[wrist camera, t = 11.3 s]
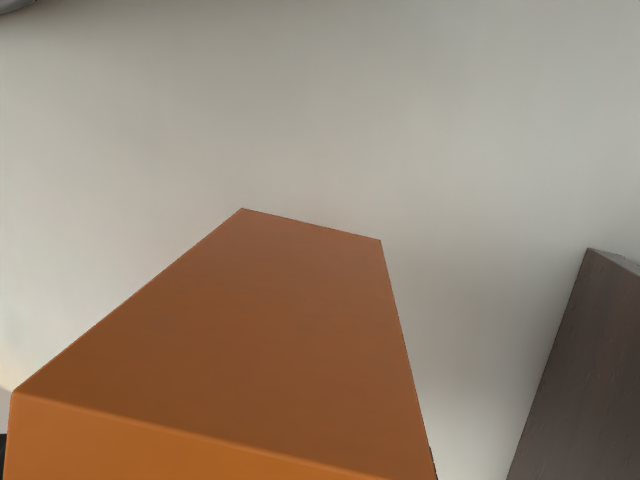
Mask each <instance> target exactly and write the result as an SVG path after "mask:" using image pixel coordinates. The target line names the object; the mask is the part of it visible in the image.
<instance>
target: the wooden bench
mask: <svg viewBox="0 0 640 480" xmlns="http://www.w3.org/2000/svg"><path fill="white" fill-rule="evenodd" d="M506 480H640V265H638V264H636V263H634V262H632V261H630V260H628V259H626V258H624V257H622V256H620V255H617V254H613V253H609V252H604V251H600V250H596V249H591V248H588V249H587V252H586V255H585V258H584V260H583V263H582V266H581V269H580V272H579V275H578V277H577V280H576V283H575V286H574V289H573V292H572V294H571V297H570V300H569V303H568V306H567V309H566V311H565V314H564V317H563V320H562V323H561V326H560V328H559V331H558V334H557V337H556V340H555V343H554V346H553V348H552V351H551V354H550V357H549V360H548V363H547V365H546V368H545V371H544V374H543V377H542V380H541V382H540V385H539V388H538V391H537V394H536V397H535V399H534V402H533V405H532V408H531V411H530V414H529V416H528V419H527V422H526V425H525V428H524V431H523V433H522V436H521V439H520V442H519V445H518V448H517V451H516V453H515V456H514V459H513V462H512V465H511V468H510V470H509V473H508V476H507V479H506Z"/></svg>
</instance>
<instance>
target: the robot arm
mask: <svg viewBox="0 0 640 480" xmlns="http://www.w3.org/2000/svg"><path fill="white" fill-rule="evenodd" d="M35 1H37V0H0V14H4V13H8V12H11V11H14V10H17V9H19V8H22V7H24V6H27V5H29V4H31V3H33V2H35ZM6 440H7V434H0V480H3V470H4V460H5V450H6ZM429 448H430V446H429ZM430 452H431V448H430ZM431 456H432V452H431ZM432 460H433V456H432ZM433 461H434V460H433ZM433 465H434V469H435V464H434V463H433ZM435 473H436V469H435ZM436 477H437V474H436ZM437 480H438V477H437Z"/></svg>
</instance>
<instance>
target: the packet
mask: <svg viewBox="0 0 640 480" xmlns="http://www.w3.org/2000/svg"><path fill="white" fill-rule="evenodd" d="M3 480H437V477H436V473H435V469H434V465H433V460H432V456H431V452H430V448H429V444H428V439H427V435H426V431H425V427H424V422H423V418H422V414H421V410H420V405H419V401H418V397H417V393H416V389H415V384H414V380H413V376H412V372H411V367H410V363H409V359H408V355H407V350H406V346H405V342H404V338H403V334H402V329H401V325H400V321H399V317H398V312H397V308H396V304H395V300H394V295H393V291H392V287H391V283H390V279H389V274H388V270H387V266H386V262H385V257H384V253H383V249H382V245H381V241H380V240H378V239H374V238H370V237H365V236H361V235H357V234H352V233H348V232H344V231H339V230H335V229H331V228H327V227H322V226H318V225H314V224H309V223H305V222H301V221H296V220H292V219H288V218H284V217H279V216H275V215H271V214H266V213H262V212H258V211H253V210H249V209H245V208H241V209H240V210H238V211H237V212H236V213H235V214H233V215H232V216H231V217H230V218H228V219H227V220H226V221H225V222H223V223H222V224H221V225H220V226H218V227H217V228H216V229H215V230H213V231H212V232H211V233H210V234H208V235H207V236H206V237H205V238H203V239H202V240H201V241H200V242H198V243H197V244H196V245H195V246H193V247H192V248H191V249H190V250H188V251H187V252H186V253H185V254H183V255H182V256H181V257H180V258H178V259H177V260H176V261H175V262H173V263H172V264H171V265H170V266H168V267H167V268H166V269H165V270H163V271H162V272H161V273H160V274H158V275H157V276H156V277H155V278H153V279H152V280H151V281H150V282H148V283H147V284H146V285H145V286H143V287H142V288H141V289H140V290H138V291H137V292H136V293H135V294H133V295H132V296H131V297H130V298H128V299H127V300H126V301H125V302H123V303H122V304H121V305H120V306H118V307H117V308H116V309H115V310H113V311H112V312H111V313H110V314H108V315H107V316H106V317H105V318H103V319H102V320H101V321H99V322H98V323H97V324H96V325H94V326H93V327H92V328H91V329H89V330H88V331H87V332H86V333H84V334H83V335H82V336H81V337H79V338H78V339H77V340H76V341H74V342H73V343H72V344H71V345H69V346H68V347H67V348H66V349H64V350H63V351H62V352H61V353H59V354H58V355H57V356H56V357H54V358H53V359H52V360H51V361H49V362H48V363H47V364H46V365H44V366H43V367H42V368H41V369H39V370H38V371H37V372H36V373H34V374H33V375H32V376H31V377H29V378H28V379H27V380H26V381H24V382H23V383H22V384H21V385H19V386H18V387H17V388H16V389H14V391H13V392H12V394H11V401H10V411H9V422H8V431H7V440H6V450H5V460H4V470H3Z"/></svg>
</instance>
